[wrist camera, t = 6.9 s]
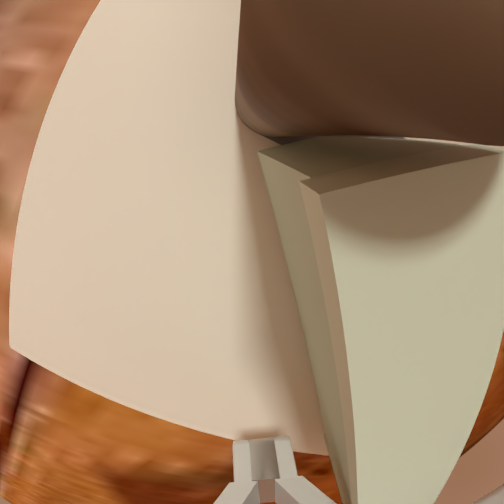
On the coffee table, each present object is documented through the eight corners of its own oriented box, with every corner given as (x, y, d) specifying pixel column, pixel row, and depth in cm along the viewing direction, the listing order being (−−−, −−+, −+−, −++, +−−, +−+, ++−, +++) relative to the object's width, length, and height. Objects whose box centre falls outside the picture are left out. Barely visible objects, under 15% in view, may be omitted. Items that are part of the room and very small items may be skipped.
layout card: (239, -139, 4) (240, -147, 3) (572, 107, 8) (580, 107, 7) (15, 340, 10) (8, 348, 10) (375, 452, 14) (378, 460, 13)
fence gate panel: (253, 152, 8) (318, 194, 2) (321, 135, 7) (515, 150, 2) (325, 447, 12) (356, 561, 6) (363, 435, 12) (404, 545, 6)
